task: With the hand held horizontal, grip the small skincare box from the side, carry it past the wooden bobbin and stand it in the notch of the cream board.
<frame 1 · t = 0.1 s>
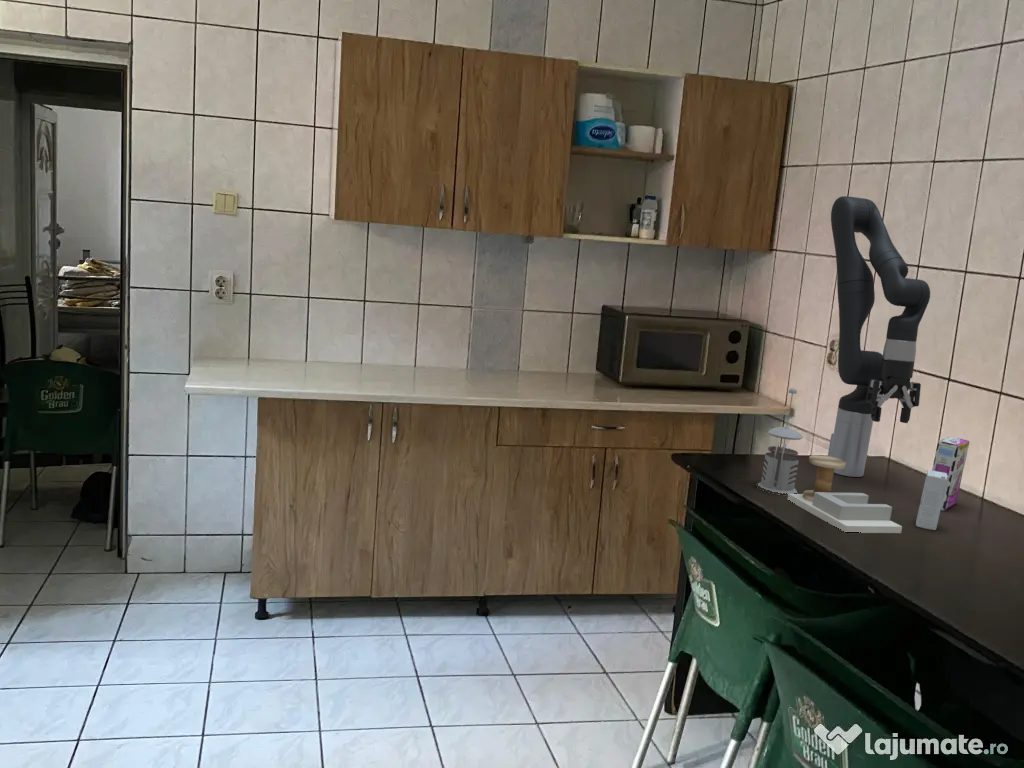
hand: (889, 422, 233), 17 cm above the table, tool pointing down, fingers open, 8 cm apart
bobbin: (820, 499, 212), resting on notched board
french press: (776, 490, 223), on the table
candy bar box: (940, 506, 225), on the table
skincare box: (926, 526, 206), on the table
notched board: (841, 515, 206), on the table
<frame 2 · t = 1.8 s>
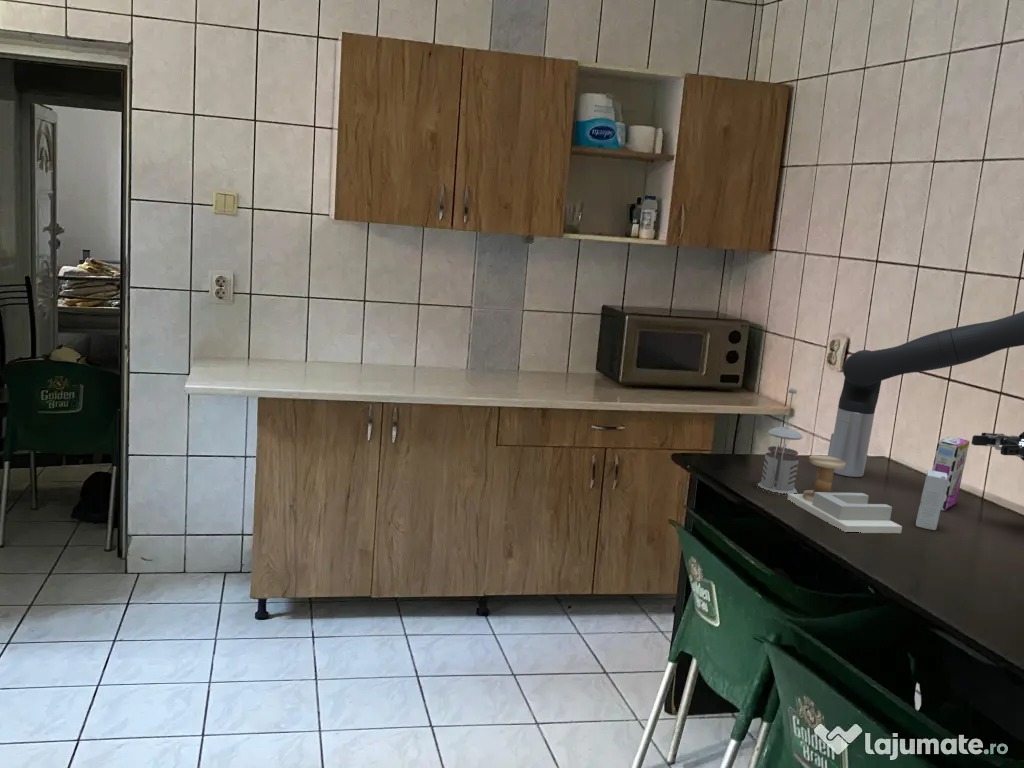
hand: (987, 445, 206), 19 cm above the table, tool horizontal, fingers open, 8 cm apart
nothing on the table moved.
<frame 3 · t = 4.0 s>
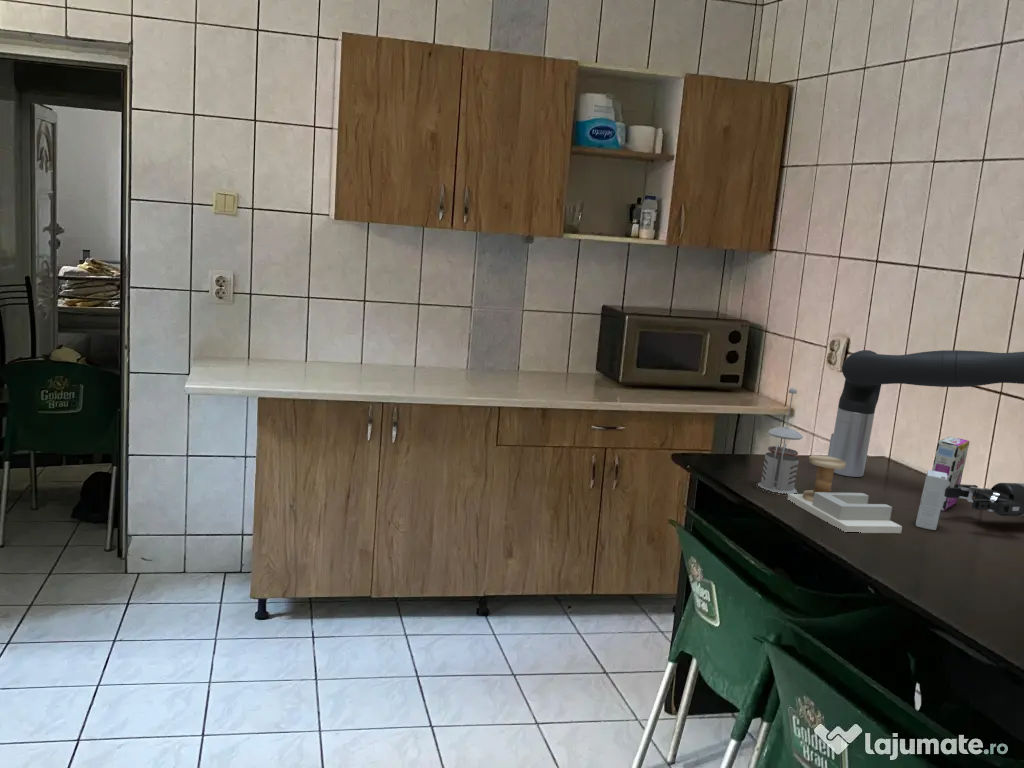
hand: (959, 498, 207), 6 cm above the table, tool horizontal, fingers open, 8 cm apart
nothing on the table moved.
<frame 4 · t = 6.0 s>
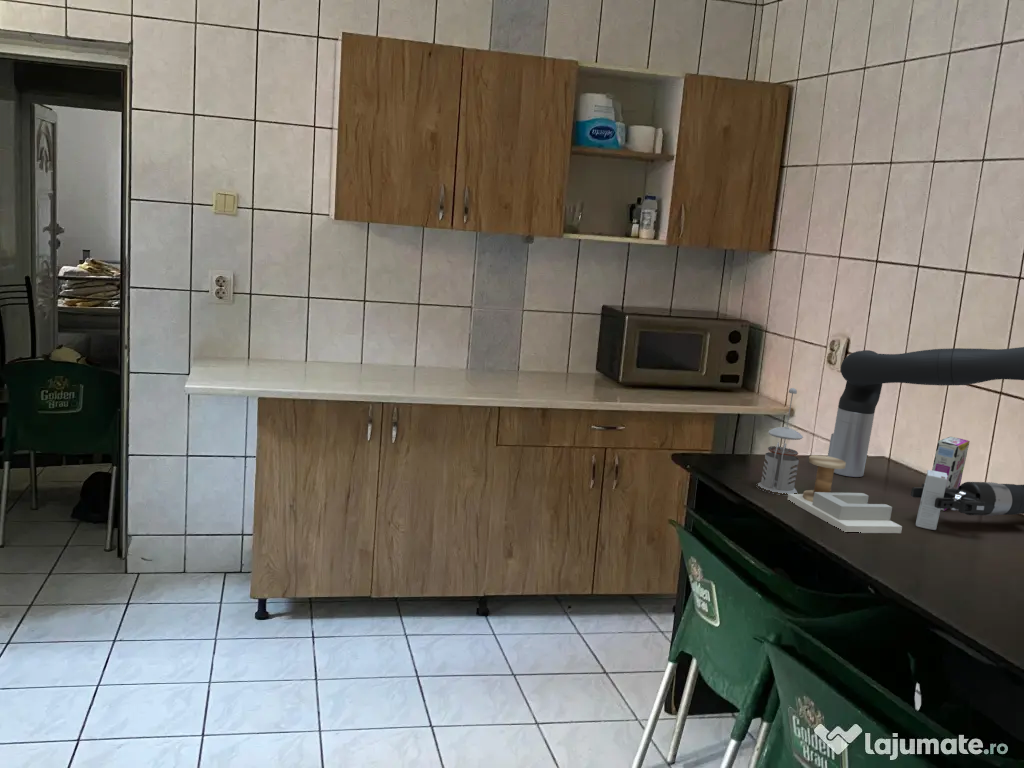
hand: (924, 497, 204), 7 cm above the table, tool horizontal, fingers closed on skincare box, 7 cm apart
skincare box: (926, 526, 206), on the table, touching gripper
everything else where it was.
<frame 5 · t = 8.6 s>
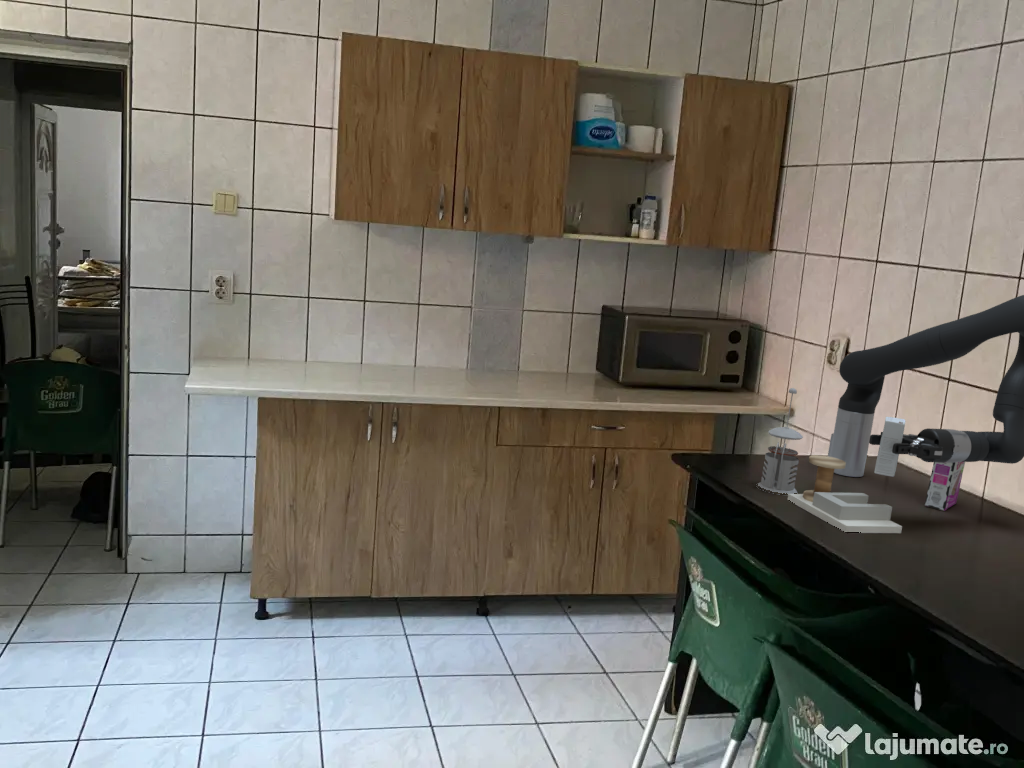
hand: (882, 444, 201), 18 cm above the table, tool horizontal, fingers closed on skincare box, 7 cm apart
skincare box: (885, 473, 203), point 11 cm above the table, touching gripper
everything else where it was.
when the fingers open (11 cm above the table, at t = 11.2 s): skincare box stays where it is, resting on notched board.
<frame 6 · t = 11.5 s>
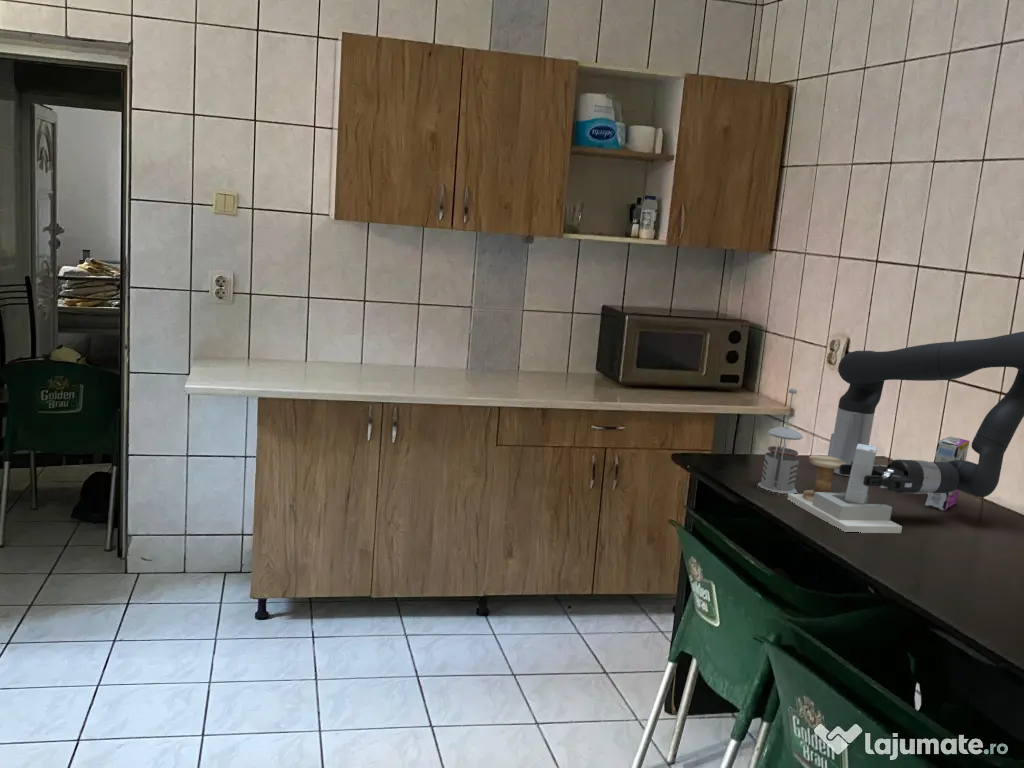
hand: (852, 474, 202), 10 cm above the table, tool horizontal, fingers open, 8 cm apart
skincare box: (855, 500, 204), point 4 cm above the table, touching notched board
everything else where it was.
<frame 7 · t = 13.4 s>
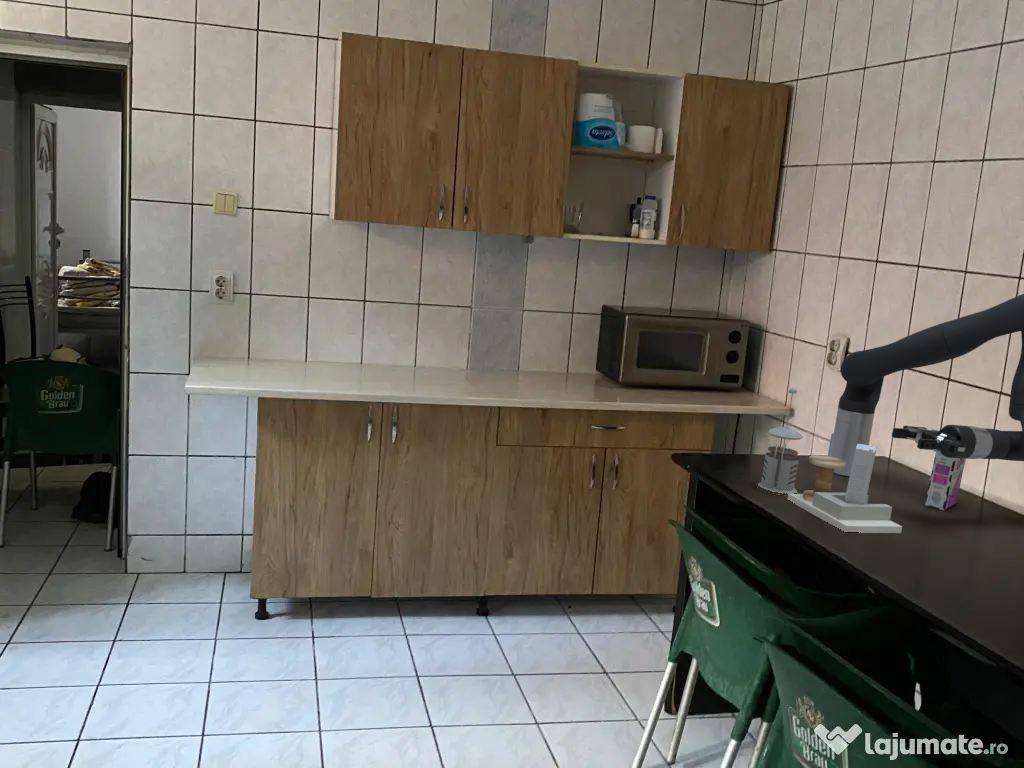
hand: (905, 438, 205), 19 cm above the table, tool horizontal, fingers open, 8 cm apart
nothing on the table moved.
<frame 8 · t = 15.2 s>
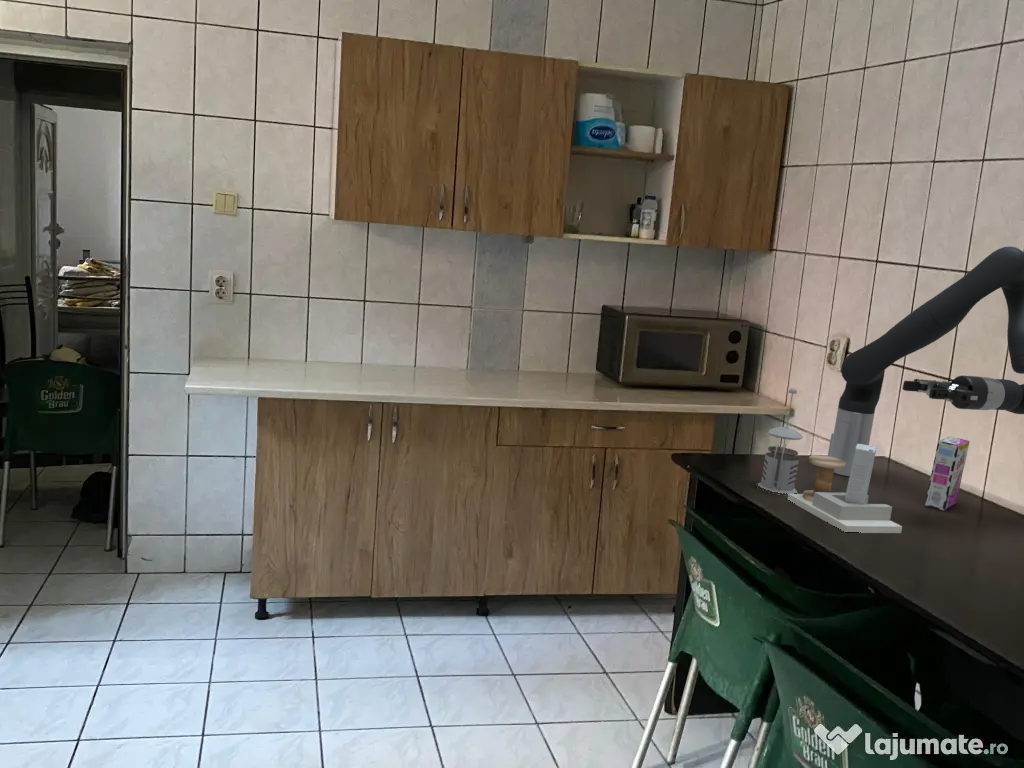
hand: (917, 389, 203), 30 cm above the table, tool horizontal, fingers open, 8 cm apart
nothing on the table moved.
at the end: skincare box inside the target area on the notched board (0.4 cm from its centre), point 4.3 cm above the notched board's base; skincare box tilted 0°; the gripper is holding nothing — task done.
